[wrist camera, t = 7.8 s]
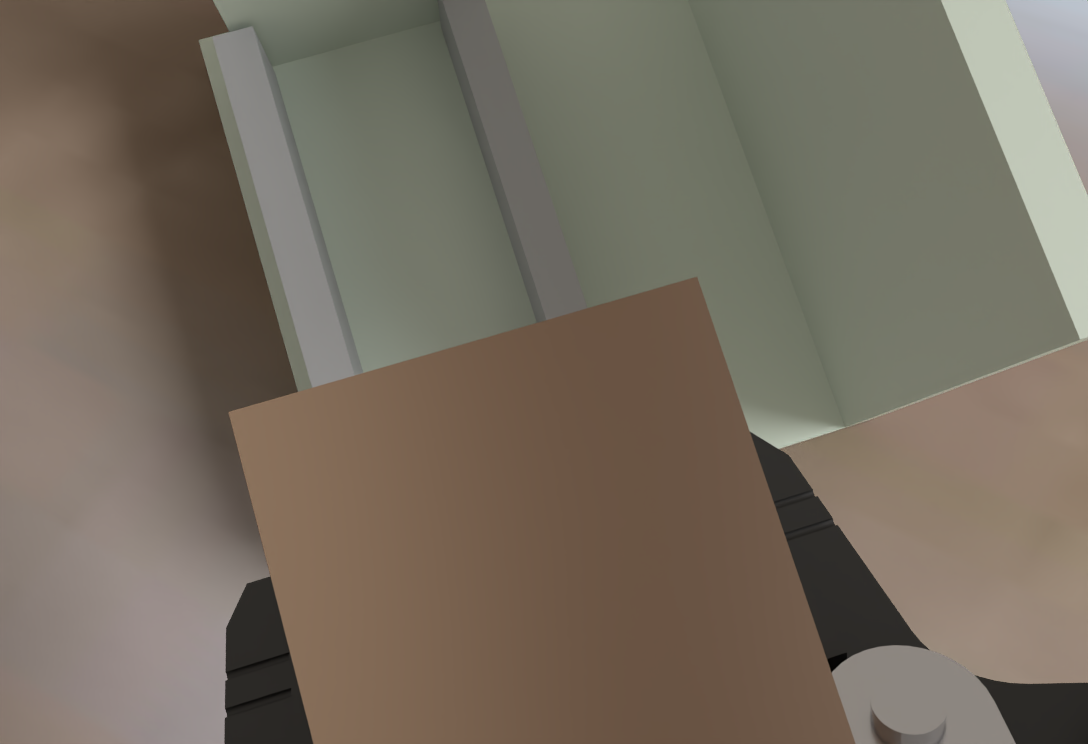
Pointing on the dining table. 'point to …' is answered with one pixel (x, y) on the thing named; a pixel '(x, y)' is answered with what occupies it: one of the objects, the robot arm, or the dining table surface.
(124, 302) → the dining table surface
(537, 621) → the brown wooden block
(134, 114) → the dining table surface
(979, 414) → the dining table surface
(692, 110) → the sage green display stand
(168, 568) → the dining table surface
